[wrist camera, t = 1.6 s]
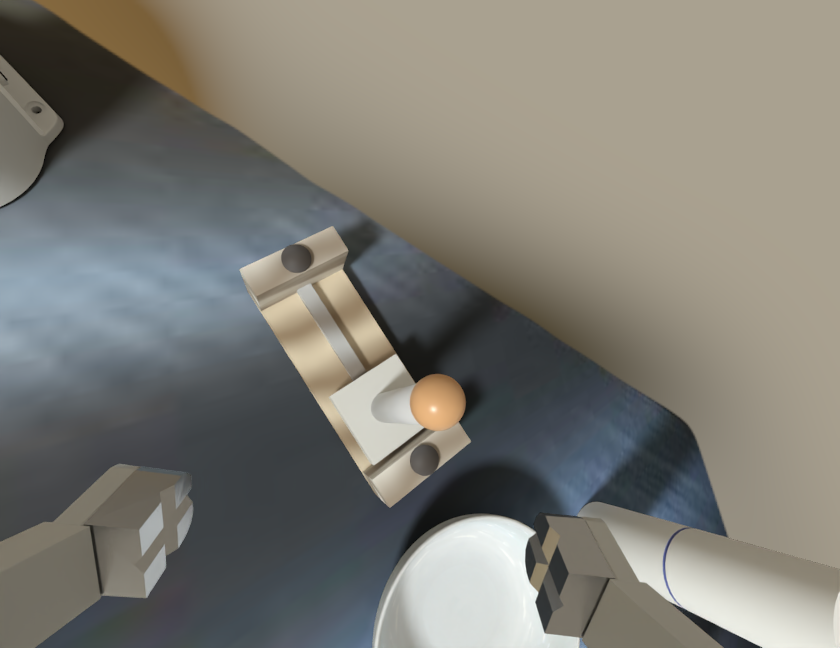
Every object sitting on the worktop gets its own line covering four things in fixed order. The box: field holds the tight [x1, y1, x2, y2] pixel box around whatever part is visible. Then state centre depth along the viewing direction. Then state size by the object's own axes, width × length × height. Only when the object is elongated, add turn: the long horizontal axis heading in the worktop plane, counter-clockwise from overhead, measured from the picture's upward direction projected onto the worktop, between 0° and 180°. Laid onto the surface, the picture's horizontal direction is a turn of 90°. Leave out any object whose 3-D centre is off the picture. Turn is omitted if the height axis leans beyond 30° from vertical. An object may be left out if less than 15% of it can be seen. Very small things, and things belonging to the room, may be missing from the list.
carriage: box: [329, 354, 466, 465], centre depth 33 cm, size 8×8×20 cm
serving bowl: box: [372, 514, 580, 648], centre depth 39 cm, size 21×21×7 cm
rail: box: [239, 226, 471, 508], centre depth 41 cm, size 26×10×7 cm, turn 35°
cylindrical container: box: [577, 502, 840, 648], centre depth 37 cm, size 7×7×25 cm
